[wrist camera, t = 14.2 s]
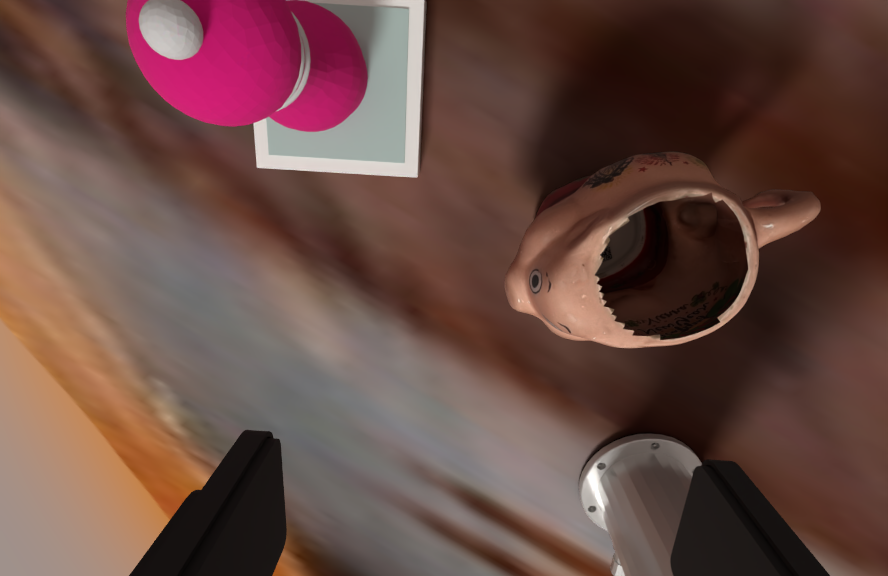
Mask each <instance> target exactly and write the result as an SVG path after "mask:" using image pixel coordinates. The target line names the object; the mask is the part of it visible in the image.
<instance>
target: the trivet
mask: <svg viewBox="0 0 888 576" xmlns="http://www.w3.org/2000/svg"><path fill="white" fill-rule="evenodd" d="M286 1H290V0H286ZM300 1H308V2H311V3H314V4H317V5H319V6H321V7H323V8H325V9H327V10H329V11H331V12H333V13H334V14H335V15H336V16H338V17H339V18H340V19H341V20H342V21H343V22H344V23H345V24H346V25H347V26H348V27H349V28H350V30H351V31H352V33H353V34H354V36H355V38H356V39H357V41H358V44H359V46H360V48H361V51H362V54H363V57H364V60H365V63H366V67H367V75H368V80H367V88H366V92H365V95H364V98H363V100H362V102H361V103H360V105H359V106H358V108H357V109H356V110H355V111H354V112H353V113H352V114H351V115H350V116H349V117H348V118H347V119H345V120H344V121H343V122H342V123H340V124H339V125H337V126H335V127H333V128H330V129H328V130H325V131H319V132H305V131H299V130H295V129H291V128H287V127H285V126H283V125H281V124H279V123H277V122H275V121H274V120H272V119H271V118H270V117H267V118H265V119H263V120H261V121H258V122H255V123H254V135H255V148H256V161H257V168H270V169H286V170H303V171H319V172H335V173H352V174H368V175H384V176H401V177H418V175H419V173H420V154H421V129H422V104H423V79H424V55H425V30H426V5H427V2H426V0H300Z"/></svg>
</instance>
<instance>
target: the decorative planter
mask: <svg viewBox="0 0 888 576" xmlns="http://www.w3.org/2000/svg"><path fill="white" fill-rule="evenodd" d="M768 206H775V207H771V208H759V207H768ZM820 210H821V206H820V201H819V199H818V198H817V197H816V196H815V195H814V194H813V192H806V191H793V190H780V189H772V190H768V191H764V192H760V193H758V194H757V195H756V196H754V197H753V198H750V199H748V200H744V201H741V199H740V198H739V197H738V196H737V195H735V194H734V193H732V192H730V191H728V190H726V189H724V188H723V187H721V186H720V185H719V184H718V183H717V182H716V181H715V179H714V178H713V176H712V174H711V172H710V171H709V169H708V167H707V165H706V164H705V163H704V162H703V161H701V160H700V159H698V158H696V157H694V156H692V155H690V154H686V153H682V152H659V153H647V154H639V155H634V156H631V157H628V158H625V159H623V160H621V161H618V162H616V163H614V164H611V165H609V166H607V167H605V168H602V169H601V170H599V171H597V172H596V173H595V174H593V175H591V176H586V177H583V178H580V179H577V180H575V181H573V182H571V183H569V184H567V185H565V186H563V187H561V188H558V189H556V190H554V191H552V192H551V193H550V194H549V195H548V196H547V197H546V198H545V199H544V201H543V202H542V204H541V206H540V208H539V210H538V212H537V214H536V217H535V220H534V221H533V222H532V223H531V225H530V226H529V227H528V229H527V230H526V232H525V235H524V237H523V239H522V242H521V244H520V247H519V250H518V253H517V255H516V257H515V259H514V261H513V263H512V264H511V266H510V267H509V269H508V271H507V273H506V276H505V291H506V295H507V298H508V301H509V304H510V305H511V307H512V308H514V309H515V310H517V311H520V312H524V313H528V314H531V315H534V316H536V317H538V318H540V319H541V320H542V321H543V322H544V323H545V324H546V326H547V327H548V328H549V329H550V330H551V331H552V332H553V333H555V334H557V335H559V336H561V337H563V338H566V339H570V340H577V341H579V340H580V341H587V340H591V341H595V342H598V343H601V344H604V345H607V346H611V347H618V348H643V347H655V346H671V345H677V344H682V343H685V342H688V341H692V340H694V339H697V338H700V337H702V336H705V335H707V334H710V333H712V332H714V331H715V330H717V329H719V328H720V327H722V326H723V325H724V324H726V323H727V322H728V321H729V320H730V319H731V318H733V317H734V316H735V315H736V314H737V313H738V312H739V311H740V310H741V308H742V307H743V306H744V304H745V303H746V301H747V299H748V297H749V295H750V293H751V291H752V289H753V286H754V284H755V281H756V277H757V273H758V267H759V248H761V247H762V246H764V245H766V244H767V243H770V242H772V241H775V240H778V239H781V238H783V237H785V236H787V235H789V234H791V233H793V232H795V231H798V230H800V229H801V228H802V227H804V226H805V225H807V224H808V223H810V222H811V221H812V220H814V219H815V218H816V216H817V215H818V213H819V212H820Z"/></svg>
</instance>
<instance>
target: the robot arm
mask: <svg viewBox="0 0 888 576" xmlns="http://www.w3.org/2000/svg"><path fill="white" fill-rule="evenodd" d="M579 496H580V500H581V503H582V506H583V509H584V510H585V512H586V514H587V516H588V517H589V518H590V519H591V520H592V521H593V522H594V523H595V524H596V525H598V526H599V527H601V528H602V529H604V530H606V531H608V532H609V535H610V537H611V540H612V542H613V548H614V550H615V553H614V555H613V559H612V564H611V568H610V570H611V573H612V574H613V575H614V576H830V575H829V574H828V573H827V571H826V570H825V569H824V568H823V567H822V565H821V564H820V563H819V562H818V560H817V559H816V558H815V557H814V556H813V554H812V553H811V552H810V551H809V550H808V548H807V547H806V546H805V545H804V544H803V542H802V541H801V540H800V539H799V538H798V536H797V535H796V534H795V533H794V532H793V530H792V529H791V528H790V527H789V526H788V524H787V523H786V522H785V521H784V520H783V518H782V517H781V516H780V515H779V513H778V512H777V511H776V510H775V509H774V507H773V506H772V505H771V504H770V503H769V501H768V500H767V499H766V498H765V497H764V495H763V494H762V493H761V492H760V491H759V489H758V488H757V487H756V486H755V485H754V483H753V482H752V481H751V480H750V479H749V477H748V476H747V475H746V474H745V473H744V471H743V470H742V469H741V468H740V466H739V465H738V464H736V463H735V462H733V461H721V460H705V461H704V462H703V463H701V461H700V460H699V458H698V457H697V456H696V454H695V453H694V452H693V451H692V449H691V448H689V447H688V446H687V445H686V444H684V443H683V442H681V441H679V440H677V439H675V438H673V437H669V436H665V435H661V434H651V433H649V434H636V435H632V436H627V437H624V438H621V439H619V440H616V441H614V442H612V443H610V444H608V445H607V446H605V447H603V448H602V449H601V450H600V451H598V452H597V453H596V454H595V455H594V456H593V457H592V458H591V459H590V460H589V461H588V463H587V464H586V466H585V468H584V469H583V471H582V474H581V477H580V480H579ZM285 541H286V515H285V500H284V486H283V471H282V457H281V443H280V440H279V439H273V434H272V433H271V432H269V431H253V430H245V431H243V433H242V434H241V435H240V436H239V438H238V439H237V441H236V442H235V443H234V445H233V446H232V448H231V449H230V450H229V452H228V453H227V455H226V456H225V457H224V459H223V460H222V462H221V463H220V464H219V466H218V467H217V469H216V470H215V471H214V473H213V474H212V476H211V477H210V479H209V480H208V481H207V483H206V484H205V486H204V487H203V488H202V490H195V491H193V492H191V494H190V495H189V496H188V497H187V498H186V499H185V501H184V502H183V503H182V505H181V506H180V507H179V509H178V510H177V511H176V513H175V514H174V516H173V517H172V518H171V520H170V521H169V522H168V524H167V525H166V527H165V528H164V529H163V531H162V532H161V533H160V535H159V536H158V537H157V539H156V540H155V541H154V543H153V544H152V545H151V547H150V548H149V550H148V551H147V552H146V554H145V555H144V556H143V558H142V559H141V560H140V562H139V563H138V565H137V566H136V567H135V569H134V570H133V571H132V573H131V574H130V575H129V576H272V575H273V572H274V570H275V568H276V565H277V563H278V560H279V558H280V556H281V553H282V551H283V548H284V545H285Z"/></svg>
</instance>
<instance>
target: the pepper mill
mask: <svg viewBox="0 0 888 576" xmlns="http://www.w3.org/2000/svg"><path fill="white" fill-rule="evenodd" d="M126 28H127V34H128V39H129V45H130V48H131V50H132V53H133V56H134V58H135V60H136V62H137V64H138V66H139V68H140V69H141V71H142V73H143V75H144V77H145V78H146V79H147V81H148V82H149V83H150V85H151V86H152V87H153V88H154V90H155V91H156V92H157V93H158V94H159V95H160V96H161V97H162V98H163V99H164V100H165V101H167V102H168V103H169V104H171V105H172V106H173V107H175V108H176V109H178V110H180V111H181V112H183V113H185V114H186V115H188V116H190V117H193V118H195V119H197V120H200V121H203V122H207V123H211V124H216V125H221V126H242V125H248V124H252V123H255V122H258V121H261V120H263V119H265V118H267V117H270V118H271V119H272V120H274V121H275V122H277V123H279V124H281V125H283V126H285V127H287V128H291V129H295V130H299V131H305V132H319V131H325V130H328V129H330V128H333V127H335V126H337V125H339V124H340V123H342V122H343V121H344V120H345V119H347V118H348V117H349V116H350V115H351V114H352V113H353V112H354V111H355V110H356V109H357V108H358V106H359V105H360V103H361V102H362V100H363V98H364V95H365V92H366V88H367V80H368V75H367V67H366V63H365V60H364V57H363V54H362V51H361V48H360V46H359V44H358V41H357V39H356V38H355V36H354V34H353V33H352V31H351V30H350V28H349V27H348V26H347V25H346V24H345V23H344V22H343V21H342V20H341V19H340V18H339V17H338V16H336V15H335V14H334V13H333V12H331V11H329V10H327V9H325V8H323V7H321V6H319V5H317V4H314V3H311V2H308V1H300V0H290V1H286V0H128V2H127V9H126Z"/></svg>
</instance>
